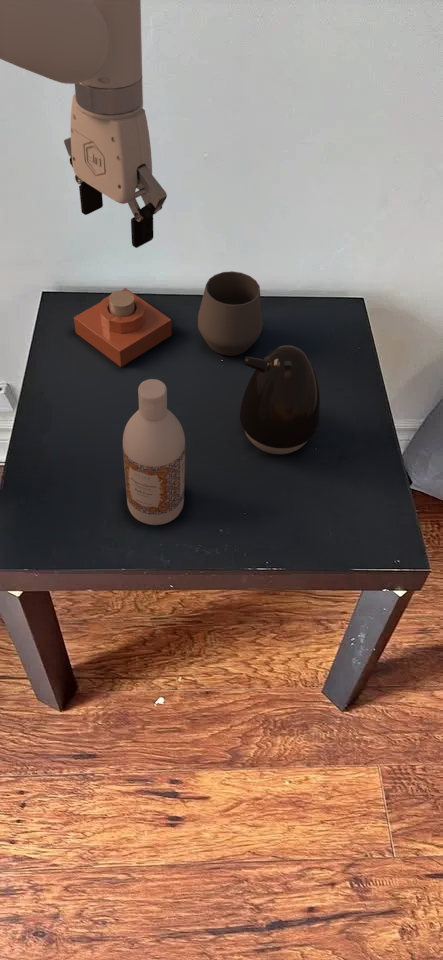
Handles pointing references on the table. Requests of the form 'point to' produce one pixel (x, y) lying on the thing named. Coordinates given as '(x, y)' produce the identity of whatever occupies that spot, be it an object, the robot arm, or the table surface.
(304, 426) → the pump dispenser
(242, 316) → the cup
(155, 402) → the bath foam
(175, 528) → the table surface
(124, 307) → the tan short cylinder
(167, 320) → the button housing
